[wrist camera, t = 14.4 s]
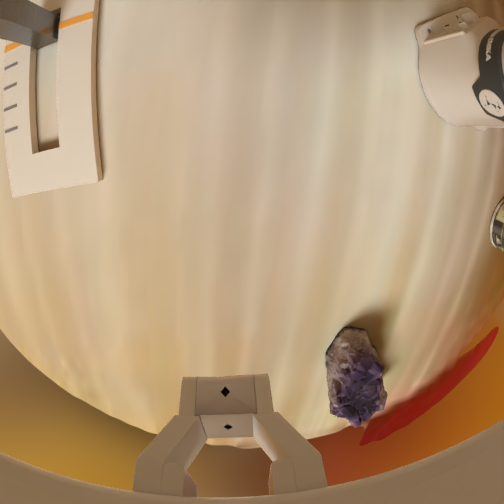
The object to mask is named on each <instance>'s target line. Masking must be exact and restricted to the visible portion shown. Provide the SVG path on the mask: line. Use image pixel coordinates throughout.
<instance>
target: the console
mask: <svg viewBox="0 0 504 504" xmlns="http://www.w3.org/2000/svg"><path fill="white" fill-rule="evenodd" d="M29 1H31V2H33V3H35V4H37V5H39V6H41V7H43V8H44V9H46V10H48V11H50V12H52V13H54V14H58V13H61V14H60V23H59V28H58V29H59V33H58V47H57V72H56V95H57V121H58V135H59V146H60V147H58V148H54V149H50V150H46V151H42V152H39V149H38V138H37V124H36V97H35V80H36V54H37V48H33V47H30V46H27V45H23V44H20V43H16V42H12V41H8V40H6V47H5V60H4V78H3V116H4V135H5V147H6V157H7V165H8V173H9V180H10V186H11V192H12V197H13V198H14V197H19V196H23V195H28V194H33V193H38V192H43V191H48V190H53V189H59V188H64V187H70V186H76V185H82V184H88V183H95V182H99V181H101V180H103V175H102V167H101V157H100V147H99V136H98V121H97V101H96V45H97V26H98V13H99V2H100V0H29Z"/></svg>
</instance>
